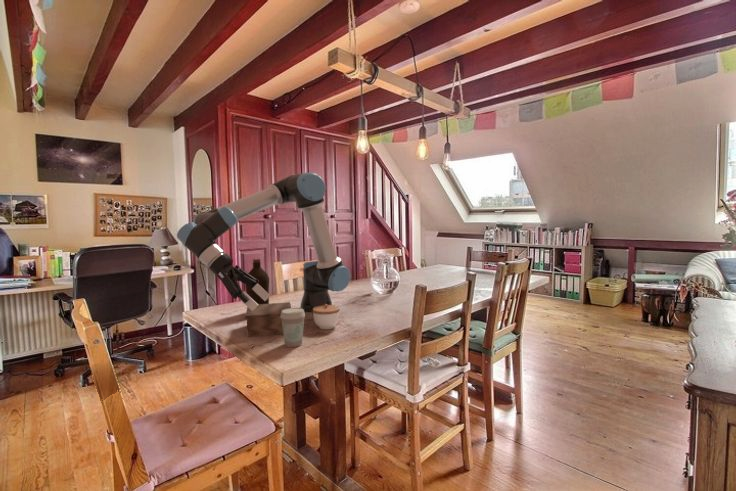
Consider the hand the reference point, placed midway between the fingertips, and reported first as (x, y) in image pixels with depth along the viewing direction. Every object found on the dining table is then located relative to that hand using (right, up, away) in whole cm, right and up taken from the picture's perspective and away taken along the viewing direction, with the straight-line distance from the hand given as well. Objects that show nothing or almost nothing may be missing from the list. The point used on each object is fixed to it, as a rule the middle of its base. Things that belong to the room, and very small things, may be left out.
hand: (262, 303), depth 123 cm
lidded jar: (+20, -13, +20) cm, 31 cm away
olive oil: (-14, -12, +43) cm, 47 cm away
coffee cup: (+11, -15, +1) cm, 18 cm away
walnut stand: (-3, -13, +19) cm, 23 cm away
